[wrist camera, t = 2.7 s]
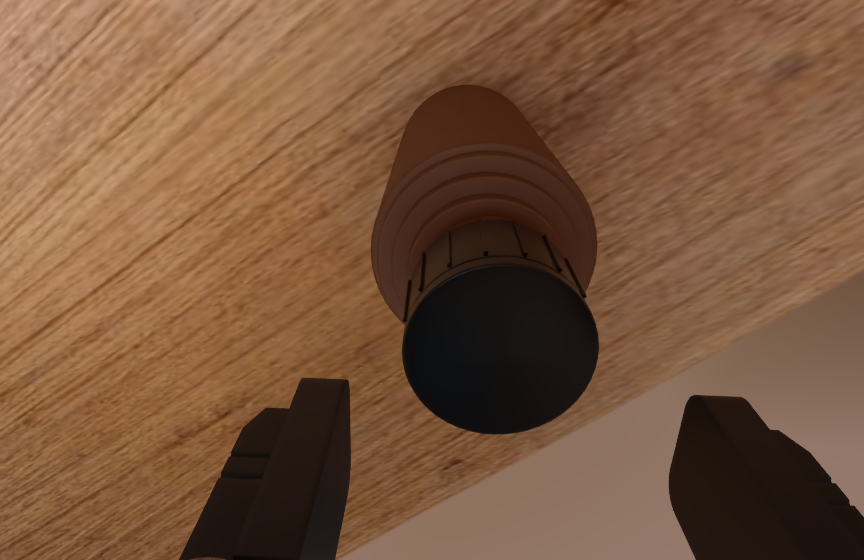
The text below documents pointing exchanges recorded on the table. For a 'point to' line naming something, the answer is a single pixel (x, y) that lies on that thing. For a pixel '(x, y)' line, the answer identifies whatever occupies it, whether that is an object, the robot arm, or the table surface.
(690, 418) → the robot arm
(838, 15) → the table surface
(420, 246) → the bottle
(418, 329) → the cap
